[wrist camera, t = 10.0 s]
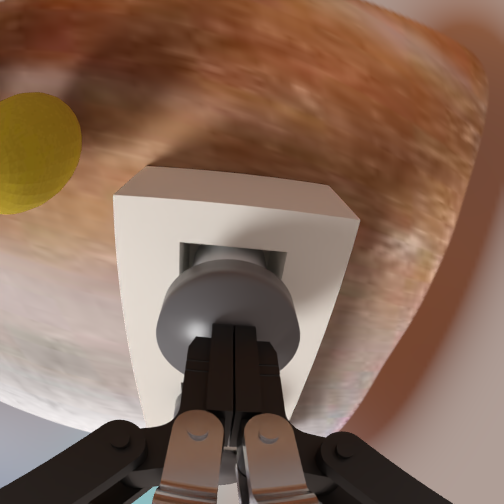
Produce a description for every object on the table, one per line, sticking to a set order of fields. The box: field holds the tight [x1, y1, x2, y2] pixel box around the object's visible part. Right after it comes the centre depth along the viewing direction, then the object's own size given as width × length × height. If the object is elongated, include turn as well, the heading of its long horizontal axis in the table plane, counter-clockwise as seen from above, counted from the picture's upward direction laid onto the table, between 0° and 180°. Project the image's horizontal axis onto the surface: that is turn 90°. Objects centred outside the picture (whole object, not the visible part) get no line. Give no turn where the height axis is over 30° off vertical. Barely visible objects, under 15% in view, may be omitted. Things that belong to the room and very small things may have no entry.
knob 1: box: [156, 244, 300, 374], centre depth 13 cm, size 5×5×6 cm
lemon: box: [0, 92, 82, 214], centre depth 11 cm, size 6×6×8 cm
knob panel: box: [113, 166, 360, 455], centre depth 20 cm, size 26×10×5 cm, turn 173°
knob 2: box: [218, 450, 237, 485], centre depth 23 cm, size 5×5×6 cm
